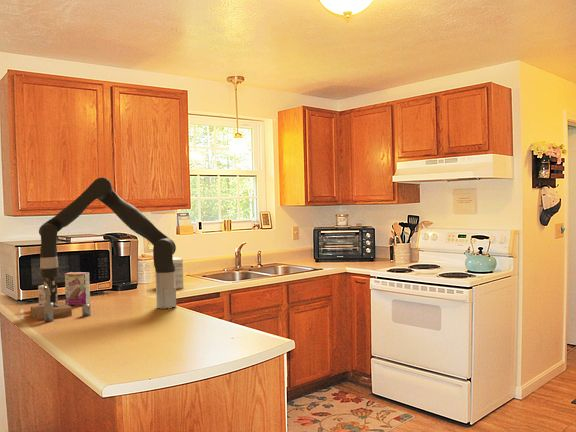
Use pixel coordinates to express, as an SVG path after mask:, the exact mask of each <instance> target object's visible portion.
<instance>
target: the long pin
mask: <svg viewBox="0 0 576 432" xmlns="http://www.w3.org/2000/svg"><path fill="white" fill-rule="evenodd" d="M47 302H50V293H49V291H48V289H47V290H46V303H47ZM53 307H55V303H53Z"/></svg>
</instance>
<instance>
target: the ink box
mask: <svg viewBox="0 0 576 432" xmlns="http://www.w3.org/2000/svg"><path fill="white" fill-rule="evenodd" d="M37 288H38V289H37V293H38V305H44V303H46V295H45V291H44V284H41V285H38V286H37ZM58 297H59V296H58V293H57V294H56V302H55V303H59V299H58Z"/></svg>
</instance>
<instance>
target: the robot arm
mask: <svg viewBox="0 0 576 432" xmlns="http://www.w3.org/2000/svg"><path fill="white" fill-rule="evenodd" d="M96 200H98V201H99V202H101V203H103V204H104V206H107V207H108V208H109V209H110V210H111V211H112V212H113V213H114V214H115V216H117V217H118V218H119V219H120V221H121V222H123V224H124V225H125V226H127V227H128V228H129V229H130V230H131V231H133V232H134V233H136V234H137V235H139V236H141V237H142V238H144V239H146V240H147V241H148V242H149V243H150V244H151V245H153V250H152V255H153V257H152V259H153V266H154V270H155V296H156V298H155V299H156V301H155V302H156V309H159V308H160V309H161V310H167V309H166V308H168V309H173V308H172V307H175V308H177V289H176V286H175V266H174V264H173V258H174V256H173V255H174V254H175V253H176V250H177V246H176V243H175V242H174V240H172V239H171V238H170V237H169V236H168V235H166V234H164V233H163V232H162V231H161V230H159V229H158V228H157V227H156V226H155V224H153V222H152V221H150V220H149V219H148V218H147V217H146V215H144V213H142V212H141V211H140V210H139V209H138V208H137V207H136V206H134V205H133V204H131V203H129V202H127V201H126V200H124V199H123V198H121V197H120V196H119V194H117V192H115V190H114V189H113V186H112V183H111V180H110V179H108V178H106V177H98V178H96V179H95V180H94V181H92V182H91V183H90V185H88V186H87V188H86V189H85V190H84V191H83V192H82V193H81V194H80V195H79V196H78V197H77V198H75V199H74V200H73V201H72V202H70V204H68V205H67V206H66V207H64V208H63V209H61V210H60V211H59V212H58V213H57V214H55V216H53V217H51V218H49V220H47V221H46V222H44V223H43V224H42V225H41V226H40V227H39V228H38V233H39V236H40V252H39V255H40V260H39V261H40V262H39V264H40V266H39V267H40V269H39V270H40V278H41V279H43V285H44V291H45V295H46V290H47V289H48V291H49V293H50V302H53V303H55V302H56V294H57V295H58V285H57V284H58V283H57V282H58V280H55V278H57V277H59V274H60V273H59V260H58V247H57V244H58V233H59V232H60V231H61V230H62V229H63V228H66V227H68V226H69V225H70V224H71V223H73V222H74V221H76V220H77V219H78V218H79V217H80V216H81V215H82V213H83V212H84V211H85V210H86V209H87V208H88V207H89V205H91V204H92V203H93V202H94V201H96Z"/></svg>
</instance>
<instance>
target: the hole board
mask: <svg viewBox="0 0 576 432" xmlns="http://www.w3.org/2000/svg"><path fill="white" fill-rule="evenodd" d="M30 316H31V317H33V318H34V319H35V320H37V321H39V322H40V321H44V305H39V304H38V305H32V306H30ZM72 316H73V307H72V305H67V304H66V302H63V301H62V302H58V303H55V307H53V319H59V318H66V317H72Z"/></svg>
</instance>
